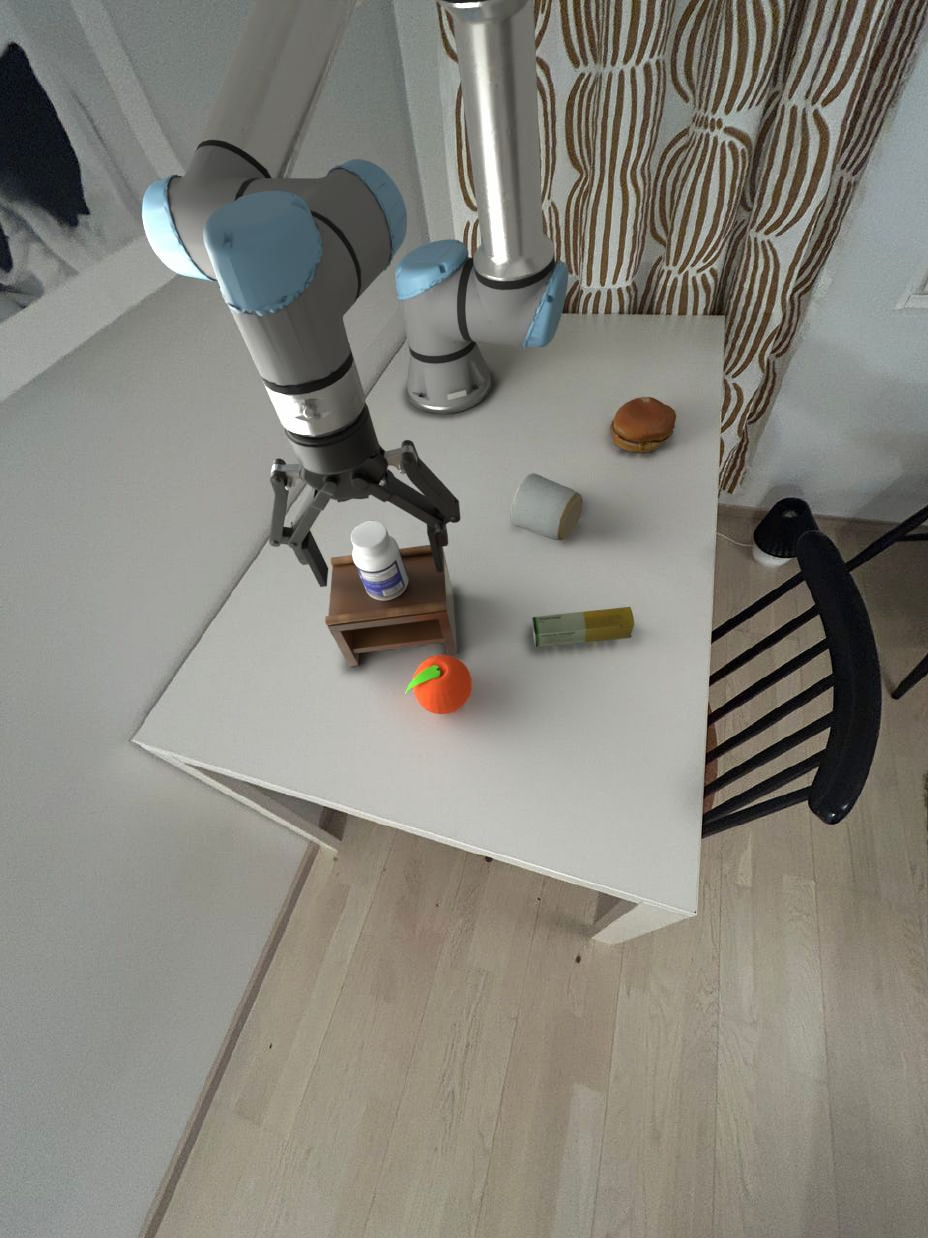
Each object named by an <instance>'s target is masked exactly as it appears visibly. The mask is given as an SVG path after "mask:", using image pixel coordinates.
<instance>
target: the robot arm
mask: <svg viewBox="0 0 928 1238" xmlns="http://www.w3.org/2000/svg"><path fill="white" fill-rule="evenodd" d="M435 1H436V2H437V3H438V4H439V5H440V6H441V7H442V8H443V9H444V10H445V11H447V13H449V14H450V17H451V18H452V23H453V24H452V25H453V32H454V33H453V35H454V40H455V48H456V56H457V64H458V71H459V79H460V86H461V95H462V103H463V111H464V117H465V118H464V119H465V125H466V134H467V140H468V141H467V142H468V149H469V156H470V157H469V158H470V165H471V170H472V171H471V172H472V179H473V180H472V181H473V188H474V195H475V196H474V197H475V203H476V210H477V218H478V227H479V233H480V239H481V240H480V242H481V244H480V245H479V246H478V247H477V248H476V250H475V252H474V254H473V257H470V256H469V254H470V253H469V250H468V248H467V245H466V244H465V243H464V242H463V241H460V240H458V239H451V238H449V239H447V238H446V239H440V240H435V241H431V242H429V243H425V244H423V245H421V246H418V247H416V248H414V249H412V250H411V251H410V252H408V253H406V254H405V255H404V256H403V257H402V258H401V259H400V260H399V261H398V263H397V265H396V266H395V269H394V270H395V271H394V280H395V287H396V297H397V299H398V303H399V308H400V312H401V318H402V322H403V327H404V331H405V332H404V333H405V337H406V340H407V344H408V350H409V362H408V371H407V377H406V378H407V379H406V390H407V395H408V400H409V401H410V403H411V404H412V405H413V406H414V407H415V408H416V409H418V410H421V412H425V413H429V414H434V415H451V414H456V413H460V412H464V411H467V410H469V409H471V408H473V407H475V406H477V405H478V404H480V403H481V402H482V401H484V400H485V399H486V398H487V396H488V395H489V393H490V391H491V388H492V381H491V378H492V377H491V373H490V369H489V367H488V364H487V362H486V360H485V358H484V356H483V354H482V352H481V349H480V347H479V345H478V343H480V344H488V345H489V344H491V345H501V346H511V347H521V348H522V349H526V348H544V347H546V346H548V345H549V344H550V343H551V342H552V341H553V340H554V337H555V335H556V333H557V331H558V328H559V325H560V321H561V318H562V314H563V310H564V306H565V301H566V297H567V290H568V284H569V274H570V273H569V272H570V270H569V265H568V264H567V262H566V261H563V260H561V259H559V260H556V256H555V255H556V253H555V251H556V250H555V244H554V241H553V240H552V239H551V237H550V236H548V235H546V233H544V226H543V225H544V224H543V221H544V220H543V197H542V175H541V173H542V172H541V151H540V149H541V148H540V126H539V125H540V124H539V101H538V99H539V97H538V78H537V77H538V76H537V73H538V72H537V52H536V51H537V49H536V47H537V46H536V25H535V1H534V0H435ZM366 2H367V0H254V1H253V3H252V6H251V8H250V11H249V13H248V17H247V19H246V21H245V25H244V27H243V28H242V31H241V34H240V36H239V39H238V42H237V44H236V47H235V49H234V51H233V54H232V57H231V58H230V62H229V63H228V67H227V68H226V71H225V74H224V77H223V79H222V81H221V84H220V87H219V89H218V92H217V94H216V96H215V99H214V102H213V104H212V106H211V110H210V111H209V114H208V117H207V120H206V122H205V124H204V127H203V130H202V132H201V135H200V137H199V139H198V142H197V144H196V147H195V150H194V154H193V155H192V156H191V159H190V162H189V165H188V167H187V169H186V172H185V174H184V175H178V174H171V175H170V176H168V177H163V178H159V179H156V180H155V181H153V182H152V184H150V185H149V186H147V189H146V191H145V193H144V195H143V199H142V210H141V217H142V223H143V229H144V231H145V235H146V238H147V240H148V243H149V245H150V246H151V248H152V250H153V252H154V253H155V255H156V256H157V257H158V258H159V260H161V262H162V263H163V265H165V266H166V267H167V268H169V269H170V270H171V271H173V272H175V273H176V274H178V275H181V276H185V277H190V278H194V279H201V280H206V281H209V282H217V283H218V288H219V289H218V290H219V292H220V294H221V296H222V298H223V300H224V302H225V304H227V307H228V308H229V311H230V313H231V315H232V317H233V319H234V321H235V323H236V326H237V328H238V330H239V331H240V332H239V333H240V334H241V337H242V338H243V341H244V343H245V345H246V347H247V349H248V351H249V353H250V356H251V358H252V361H253V362H254V365H255V367H256V369H257V371H258V373H259V376H260V378H261V381H262V383H263V385H264V388H265V390H266V392H267V395H268V397H269V399H270V401H271V404H272V406H273V408H274V410H275V412H276V415H277V417H278V419H279V422H280V424H281V425H282V426H283V428H284V434H285V436H286V438H287V440H288V442H289V445H290V447H291V449H292V451H293V454H294V457H295V458H296V461H297V463H290V464H289V463H288V464H287V462H286V461H285V460H284V459H283V458H279V457H278V458H274V459H273V460H272V466H271V471H270V476H269V482H270V484H271V488H272V490H273V493H274V498H273V505H272V513H271V523H270V530H269V537H268V544H269V546H271V547H273V548H279V547H280V546H281V545H286V546H288V547H289V548H290V549H292V551H293V554H294V555H295V556H296V559H297V560H298V562H299V564H301V565H302V566H306V565H308V566H309V568H310V569H311V572H312V573H313V576H314V578H315V579H316V581H317V584H318V585H319V587H320V588H324V587H328V577H329V566H328V565H327V562H326V561H325V558H324V556H323V554H322V552H321V550H320V547H319V546H318V544H317V541H316V540H315V537H314V536H313V533H312V530H311V529H312V527H313V525H314V524H315V522H316V520H317V519H318V517H319V516H320V514H321V512H323V511H324V510H325V508H326V507H327V505H328V504H329V502H330V501H331V500H333V501H337V503H344V502H348V501H350V500H365V499H369V498H370V496H372V497H374V498H376V499H377V500H379V501H381V502H382V503H386V502H389V503H390V504H392V505H394V506H395V507H398V509H400V510H402V511H403V512H405V513H407V514H409V515H411V516H412V517H414V518H415V519H417V520H419V521H420V522H422V523H423V524H425V525H426V533H427V538H428V543H429V545H430V546H431V550H432V554H433V559H434V563H435V567H436V571H437V572H442V571H443V557H442V550H441V547H443V548H444V547H448V545H449V531H448V528H447V524H449V523H452V524H456V523H459V522H460V521H461V509H460V500H459V499H458V498H457V497H456V496H455V495H454V494H453V493H452V492H451V490H450V489H449V488H448V487H447V486H446V485H445V484H444V483H443V482H442V481H441V479H440V478H439V477H437V476H436V474H435V473H434V472H433V471H432V469H430V467H428V465H427V464H426V463H425V462H424V461H423V460H422V459H421V458H420V457H419V454H418V452H417V449H416V446H415V443H414V442H413V441H412V440H410V439H404V440H403V441H401V445H400V446H401V447H397V448H394V449H390V450H385V449H384V448H383V447H382V446H381V444H380V443H379V440H378V437H377V434H376V429H375V426H374V422H373V420H372V419H373V418H372V416H371V411H370V409H369V406H368V404H367V402H366V394H365V392H364V388H363V384H362V381H361V377H360V374H359V371H358V367H357V363H356V361H355V357H354V354H353V351H352V349H351V343H350V342H349V338H348V334H347V329H346V326H345V323H344V316H345V315H346V313H348V311H350V309H351V308H352V307H353V305H354V304H355V303H356V302H357V300H358V299H359V298H360V297H361V296H362V295H363V293H365V291H366V290H367V289H368V288H369V287H370V286H371V285H372V284H373V282H374V281H376V279H377V278H378V277H379V276H380V275H381V274H382V273H383V272H384V271H385V272H386V271H387V269H388V268H389V267H390V266H391V263H392V261H393V259H394V256H395V255H396V254H397V253H398V251H399V250H400V248H401V247H402V245H403V243H404V241H405V238H406V235H407V230H408V213H407V211H408V210H407V208H406V204H405V201H404V198H403V195H402V193H401V190H400V189H399V187H398V185H397V184H396V182H395V181H394V179H393V178H392V177H391V176H390V174H389V173H388V172H387V171H386V170H385V169H383V168H382V167H380V166H379V165H378V164H376V163H374V162H372V161H369V160H366V159H361V158H355V159H350V160H346V161H345V162H344V163H342V164H340V165H339V164H338V165H335V166H334V167H333V168H331V169H329V171H328V172H327V174H326V175H325V176H323V177H317V178H316V177H315V178H312V177H311V178H310V177H309V178H307V177H306V178H304V177H303V178H302V177H299V178H298V177H292V174H293V172H294V169H295V167H296V165H297V162H298V159H299V156H300V154H301V151H302V148H303V145H304V143H305V139H306V138H307V134H308V132H309V129H310V126H311V124H312V121H313V118H314V116H315V113H316V111H317V108H318V106H319V103H320V100H321V97H322V94H323V92H324V90H325V87H326V84H327V81H328V78H329V76H330V73H331V71H332V68H333V66H334V62H335V60H336V58H337V55H338V52H339V50H340V48H341V44H342V42H343V39H344V36H345V34H346V31H347V28H348V26H349V23H350V20H351V18H352V15H353V13H354V10H355V8H358V7H360V6H362V5H363V4H364V3H366ZM389 466H393V467H394V468H396V469H397V470H398V471H399V473H400V475H401V474H402V475H406V476H407V478H408V479H409V481H410V482H411V484H413V485H414V486H415V487H416V488H417V489H418V490H416V489H415V488H413V487H411V486H409V485H408V484H407V483H405V482H403V481H402V480H401V479H399V478H397V476H395V474H394V473H393V471H391V470H390V469H388V468H389ZM299 479H300V480H301V482H303V483H304V484H306V485H307V486H310V487H311V490H310V492H309V493H308V495H307V497H306V499H305V501H304V502H303V504H302V505H301V508H300V509H299V511H298V513H297V514H296V516H295V518H294V519H293V521H291V522H290V526H285V520H286V513H287V506H288V499H289V494H290V490H292V488H294V487H295V486H296V481H297V480H299Z"/></svg>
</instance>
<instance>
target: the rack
mask: <svg viewBox="0 0 928 1238" xmlns="http://www.w3.org/2000/svg"><path fill="white" fill-rule="evenodd" d="M399 549H400V553H401V556H402V559H403V562H404V565H405V568H406V571H407V575H408V585H407V588H406V589H405V591H404V592H403V593H402V594H401V595H399V596H398V597H396V598H394V599H391V600H386V601H381V600H377V599H374V598H372V597H371V596H370V595H369V594H368V593H367V591H366V589H365V586H364V584H363V582H362V579H361V577H360V575H359V573H358V570H357V568H356V566H355V563H354V561H353V557H352V554H349V555H341V556H335V557H334V556H333V557H330V558H329V559H330V560H329V561H330V565H331V566H332V567H331V568H332V569H331V579H330V592H329V602H328V613H327V616H325V617H324V623H325V625H326V626H327V629H328V631H329V632H330V634H331V635H332V638H333V640H334V641H335V643H336V645H337V646H338V649H339V650H340V652H341V654H342V656H343V658H344V659H345V661H346V663H347V665H348V666H349V667H356V666H359V659H360V653H368V652H377V651H386V650H394V649H402V648H403V649H404V648H411V647H418V646H420V647H421V646H428V645H435V644H444V645H445V649H446V652H447V655H450V656H452V655H457V654H458V645H457V629H456V618H455V617H456V616H455V602H454V591H453V586H452V582H451V581H452V580H451V577H450V573H449V567H448V563H447V559H446V554H445V549H444V546H443V547H441V550H442V557H443V571H442V572H437V571H436V567H435V563H434V559H433V554H432V550H431V546H430V544H425V545H418V546H411V547H404V548H403V547H402V548H399Z"/></svg>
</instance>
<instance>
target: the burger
mask: <svg viewBox="0 0 928 1238" xmlns="http://www.w3.org/2000/svg"><path fill="white" fill-rule="evenodd" d="M676 421H677V413H676V411H675V409H674V408H672V406H670V405H668V404H665V403H664V402H662V401H660V400H658V399H657V398H655V397H651V396H646V397H645V396H641V397H636V398H633V399H631V400H629V401H626V402H625V403H624V404H622V405H621V406H620V407H619V408H618V409H617V411H616V412H615V415H614V417H613V419H612V420H611V423H610V432H611V436H612V440H613V444H614V445H615V446H617V447H618V448H620V449H622V450H624V451H626V452H630V453H637V454H648V453H652V452H654V451H656V450H657V449H659V448H660V447H662V446H663V445H664V444H665V443H666V442H667V441H668V440H669V439H670V437H671V436H672V435H673V434H674V429H675V428H676Z"/></svg>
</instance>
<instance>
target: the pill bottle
mask: <svg viewBox="0 0 928 1238" xmlns="http://www.w3.org/2000/svg"><path fill="white" fill-rule="evenodd" d="M350 541H351V543H352V546H353V549H352V552H351V555H352V557H353V561H354V563H355V566H356V568H357V570H358V573H359V575H360V577H361V579H362V582H363V584H364V586H365V589H366V591H367V593H368V594H369V595H370V596H371V597H372V598H374V599H377V600H381V601H386V600H391V599H394V598H396V597H398V596H399V595H401V594H402V593H403V592H404V591H405V589H406V588H407V585H408V575H407V571H406V568H405V565H404V562H403V559H402V556H401V553H400V549H401V548H400V547H399V544H398V542H397V540H396V539H395V538H394V537H393V536H392V535H390V534H389V532H388V529H387V527H386V525H384V523H382V522H380V521H376V520H368V521H365V522H361V523H359V524H358V525H357V526H355V528H353V530H352V532H351V535H350Z"/></svg>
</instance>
